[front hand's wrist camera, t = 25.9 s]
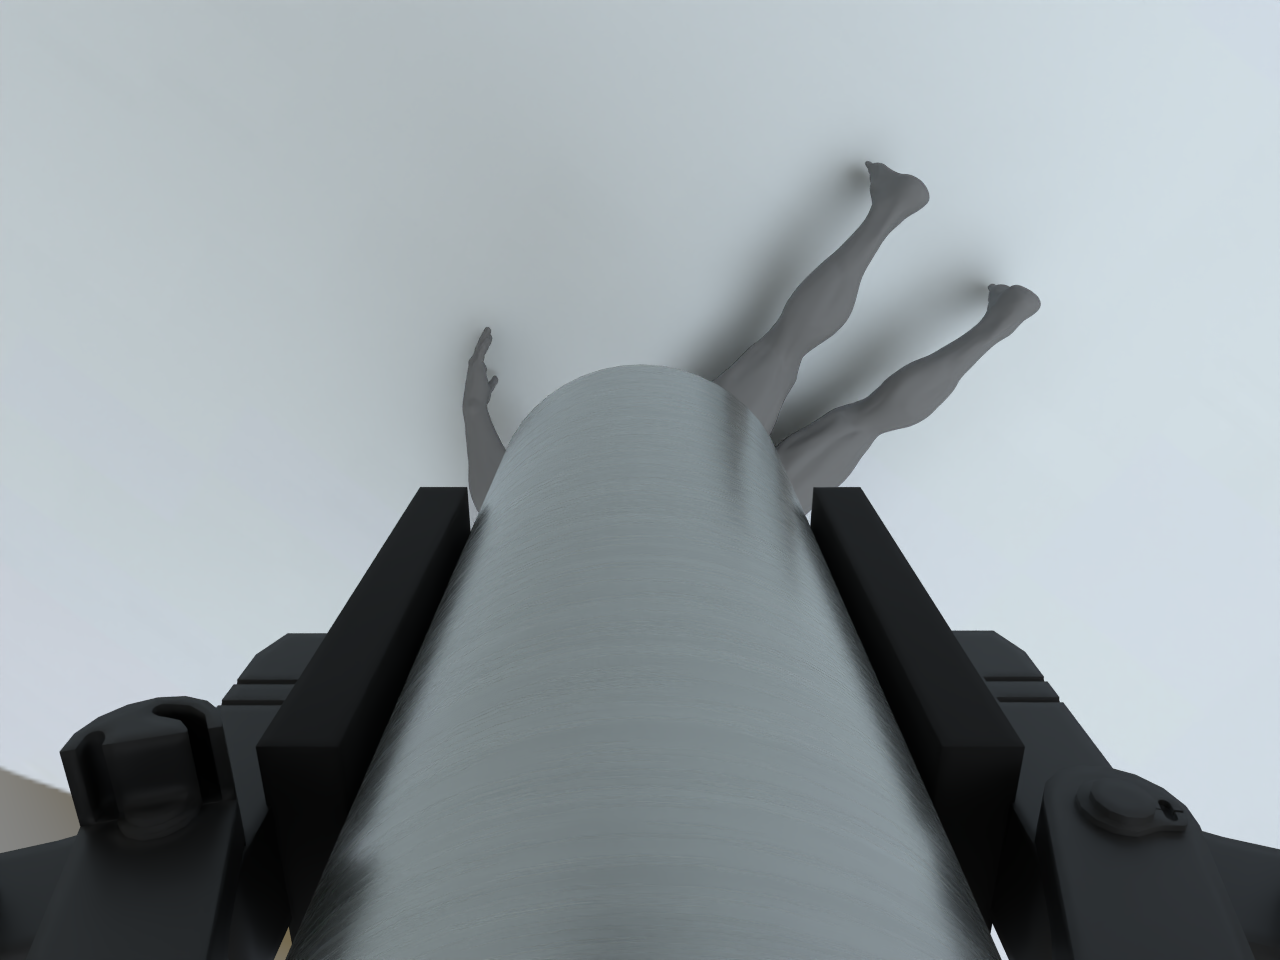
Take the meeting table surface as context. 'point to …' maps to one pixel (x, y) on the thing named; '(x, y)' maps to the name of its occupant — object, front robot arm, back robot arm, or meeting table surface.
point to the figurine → (803, 325)
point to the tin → (642, 722)
